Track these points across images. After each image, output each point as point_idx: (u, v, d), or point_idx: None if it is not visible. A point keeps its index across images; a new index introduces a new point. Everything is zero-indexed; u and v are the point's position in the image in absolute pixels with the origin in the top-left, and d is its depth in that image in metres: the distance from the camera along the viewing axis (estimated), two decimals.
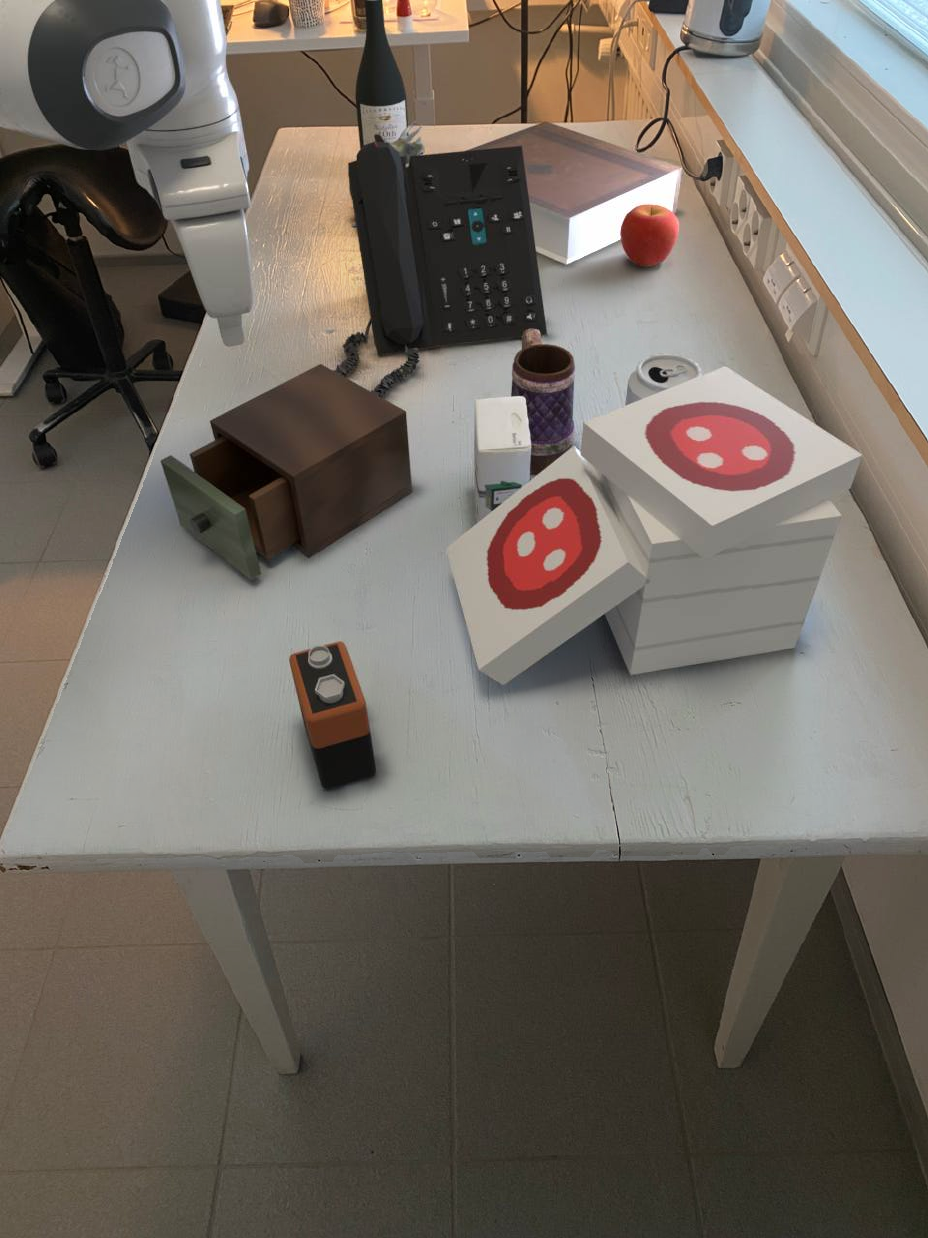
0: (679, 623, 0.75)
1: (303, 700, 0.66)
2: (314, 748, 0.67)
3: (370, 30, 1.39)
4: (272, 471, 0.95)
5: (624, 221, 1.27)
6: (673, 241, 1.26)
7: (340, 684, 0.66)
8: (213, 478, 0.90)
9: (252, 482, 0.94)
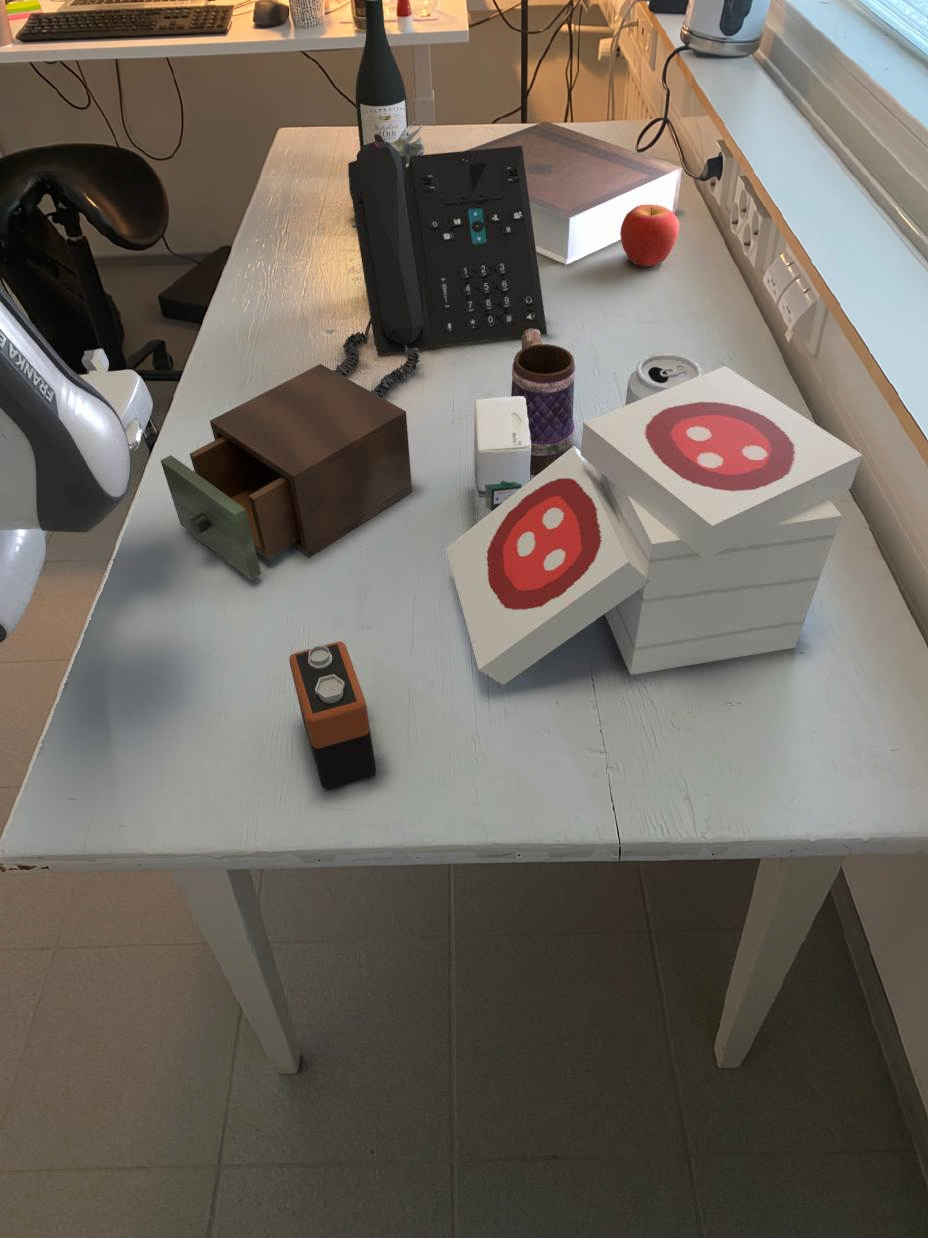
0: (679, 622, 0.75)
1: (303, 700, 0.66)
2: (314, 748, 0.67)
3: (370, 30, 1.39)
4: (272, 471, 0.95)
5: (624, 221, 1.27)
6: (673, 241, 1.26)
7: (340, 684, 0.66)
8: (213, 478, 0.90)
9: (252, 482, 0.94)
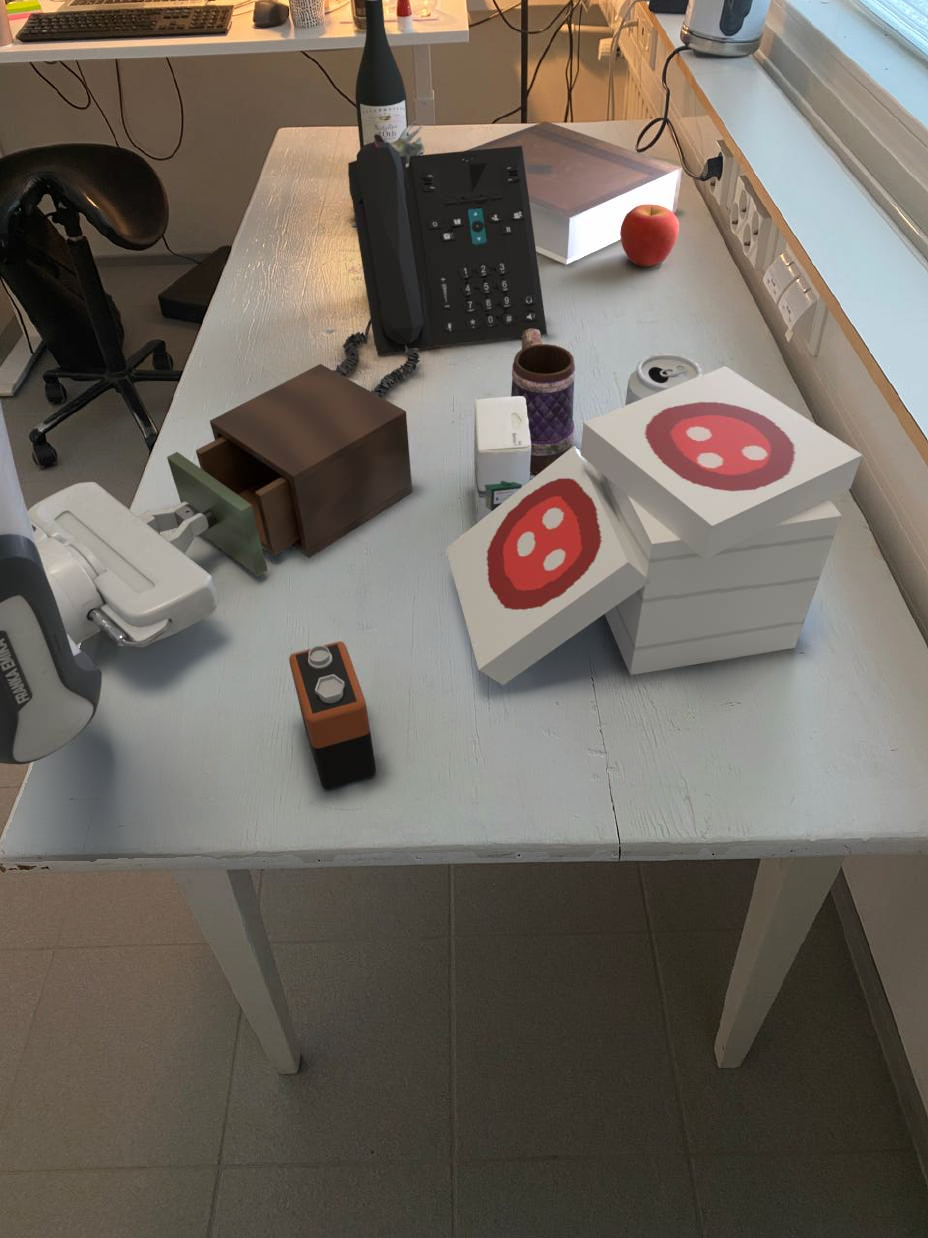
0: (679, 623, 0.75)
1: (303, 700, 0.66)
2: (314, 748, 0.67)
3: (370, 30, 1.39)
4: None
5: (624, 221, 1.27)
6: (673, 241, 1.26)
7: (340, 684, 0.66)
8: (219, 475, 0.90)
9: (258, 479, 0.94)
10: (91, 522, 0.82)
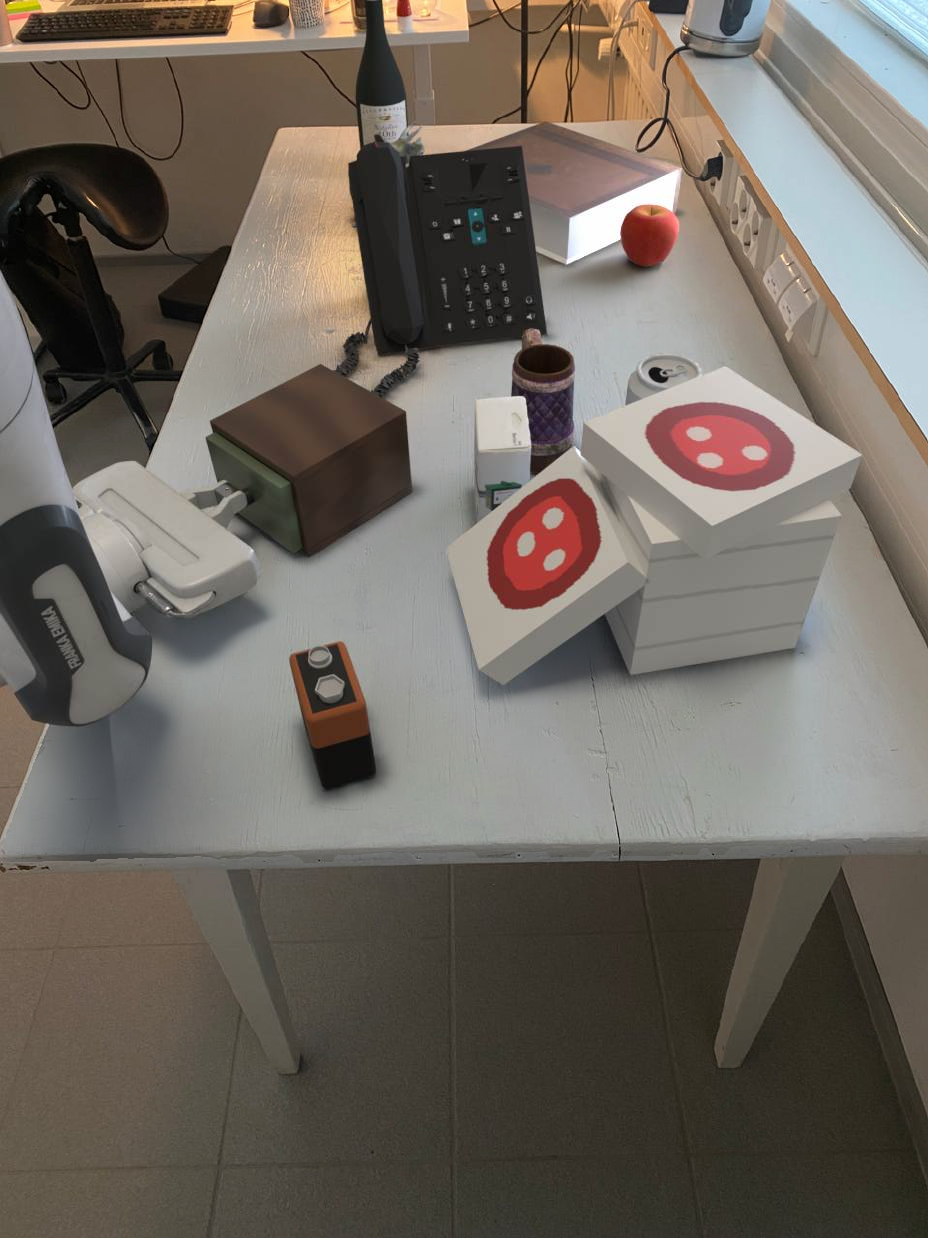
0: (679, 623, 0.75)
1: (303, 700, 0.66)
2: (314, 748, 0.67)
3: (370, 30, 1.39)
4: None
5: (624, 221, 1.27)
6: (673, 241, 1.26)
7: (340, 684, 0.66)
8: None
9: None
10: (134, 499, 0.84)
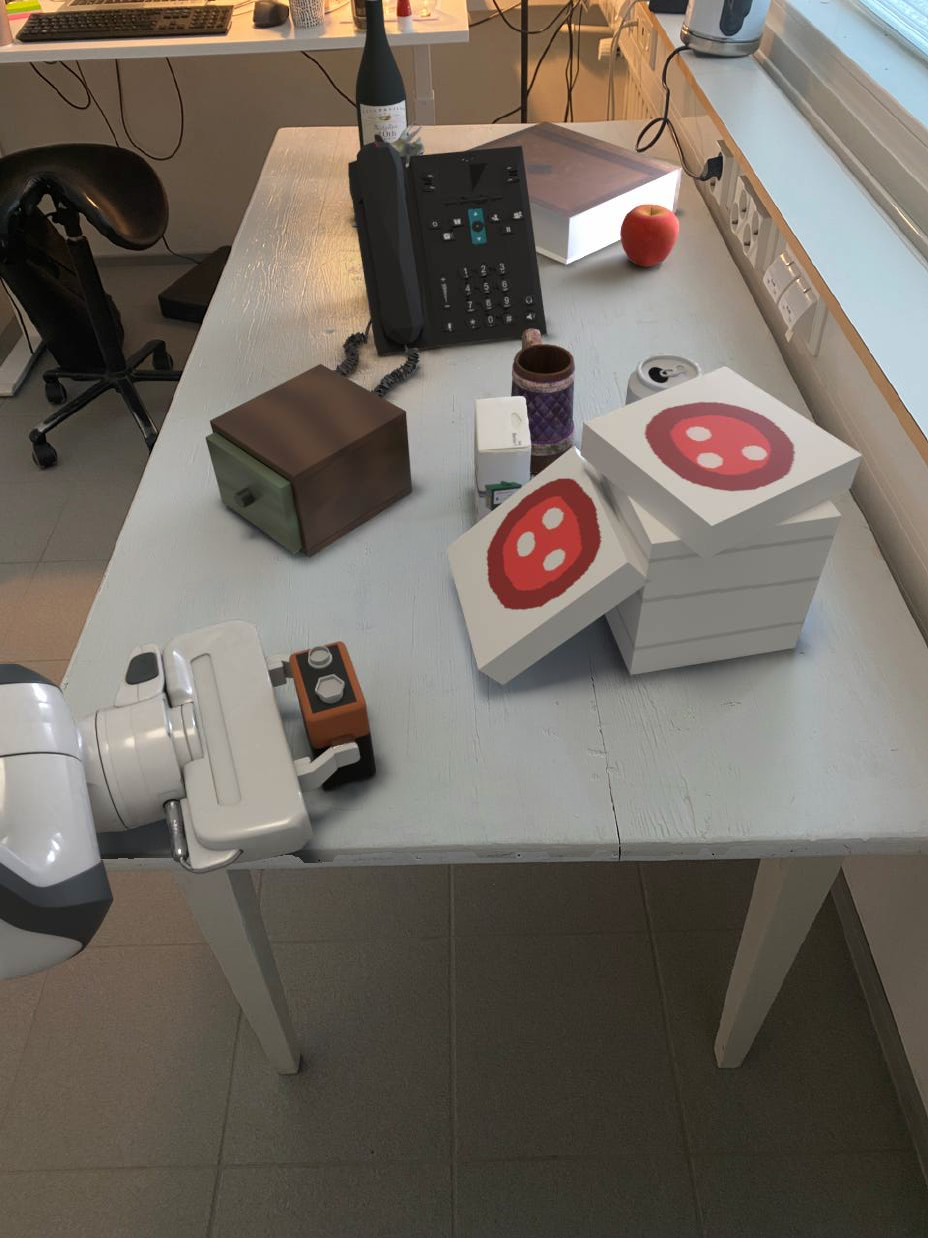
0: (679, 623, 0.75)
1: (303, 700, 0.66)
2: (314, 748, 0.67)
3: (370, 30, 1.39)
4: None
5: (624, 221, 1.27)
6: (673, 241, 1.26)
7: (340, 684, 0.66)
8: None
9: None
10: (223, 681, 0.69)
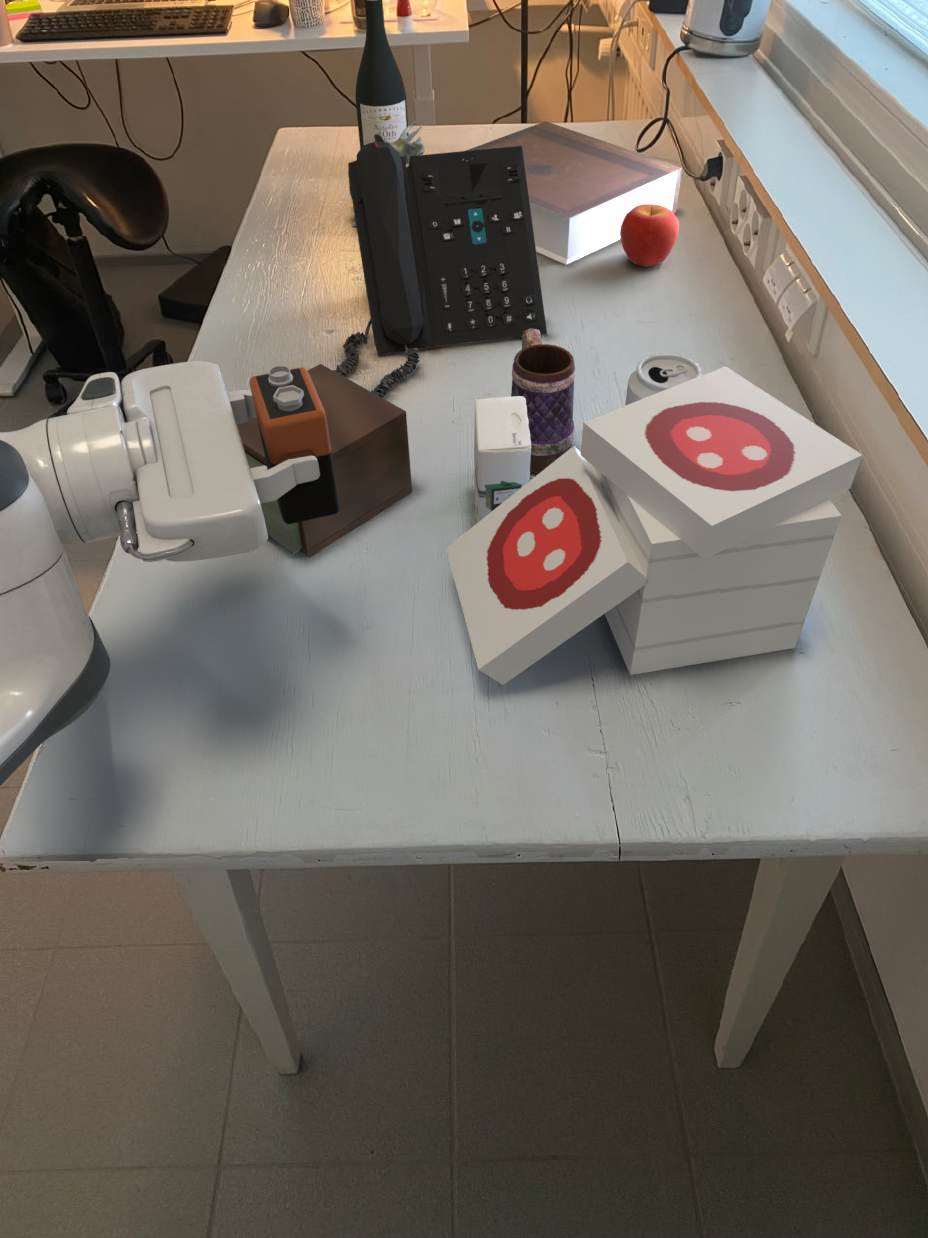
0: (679, 623, 0.75)
1: (261, 409, 0.64)
2: (273, 465, 0.66)
3: (370, 30, 1.39)
4: None
5: (624, 221, 1.27)
6: (673, 241, 1.26)
7: (299, 394, 0.64)
8: None
9: None
10: (182, 405, 0.68)
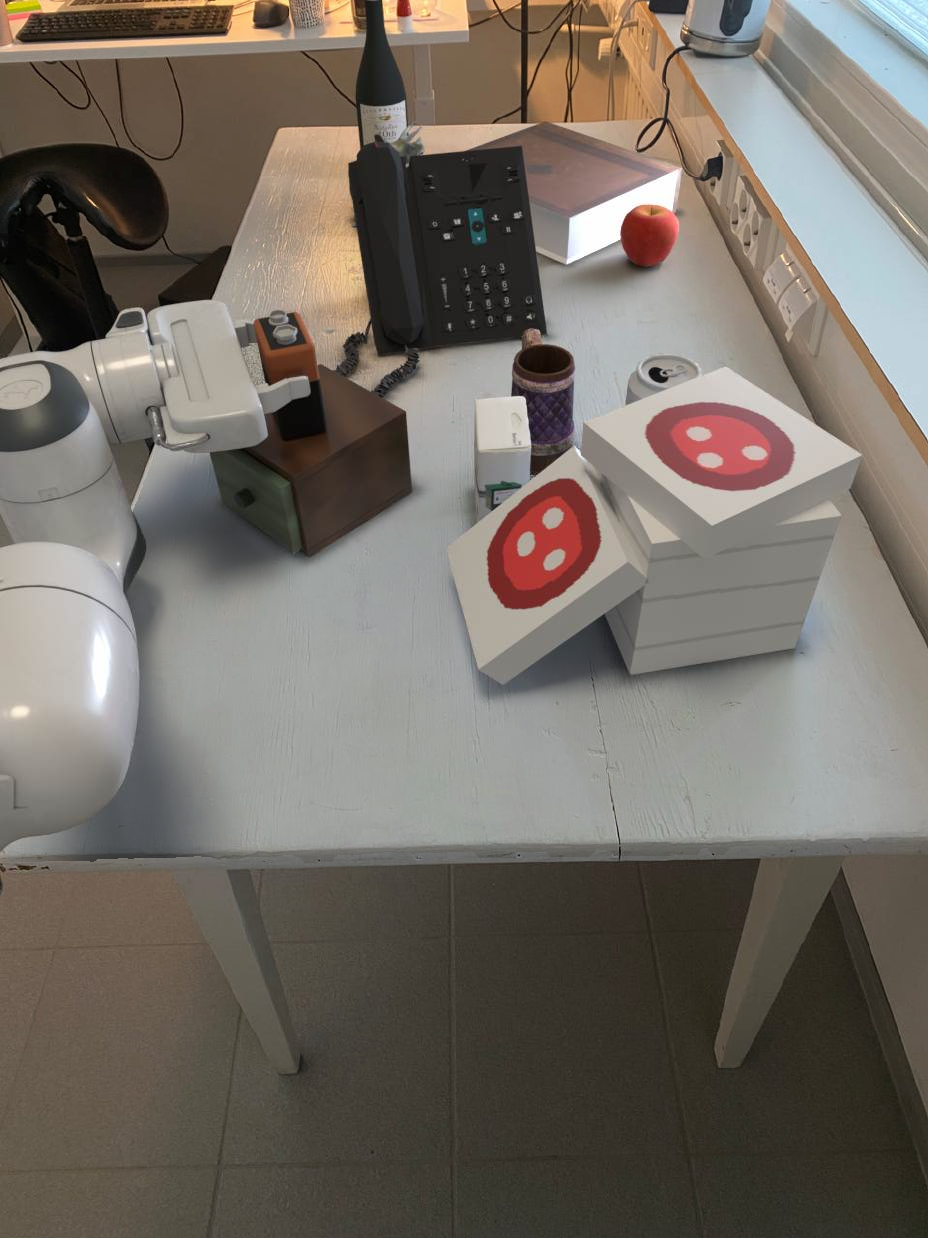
0: (679, 623, 0.75)
1: (263, 344, 0.81)
2: None
3: (370, 30, 1.39)
4: None
5: (624, 221, 1.27)
6: (673, 241, 1.26)
7: (294, 331, 0.81)
8: None
9: None
10: (196, 334, 0.84)
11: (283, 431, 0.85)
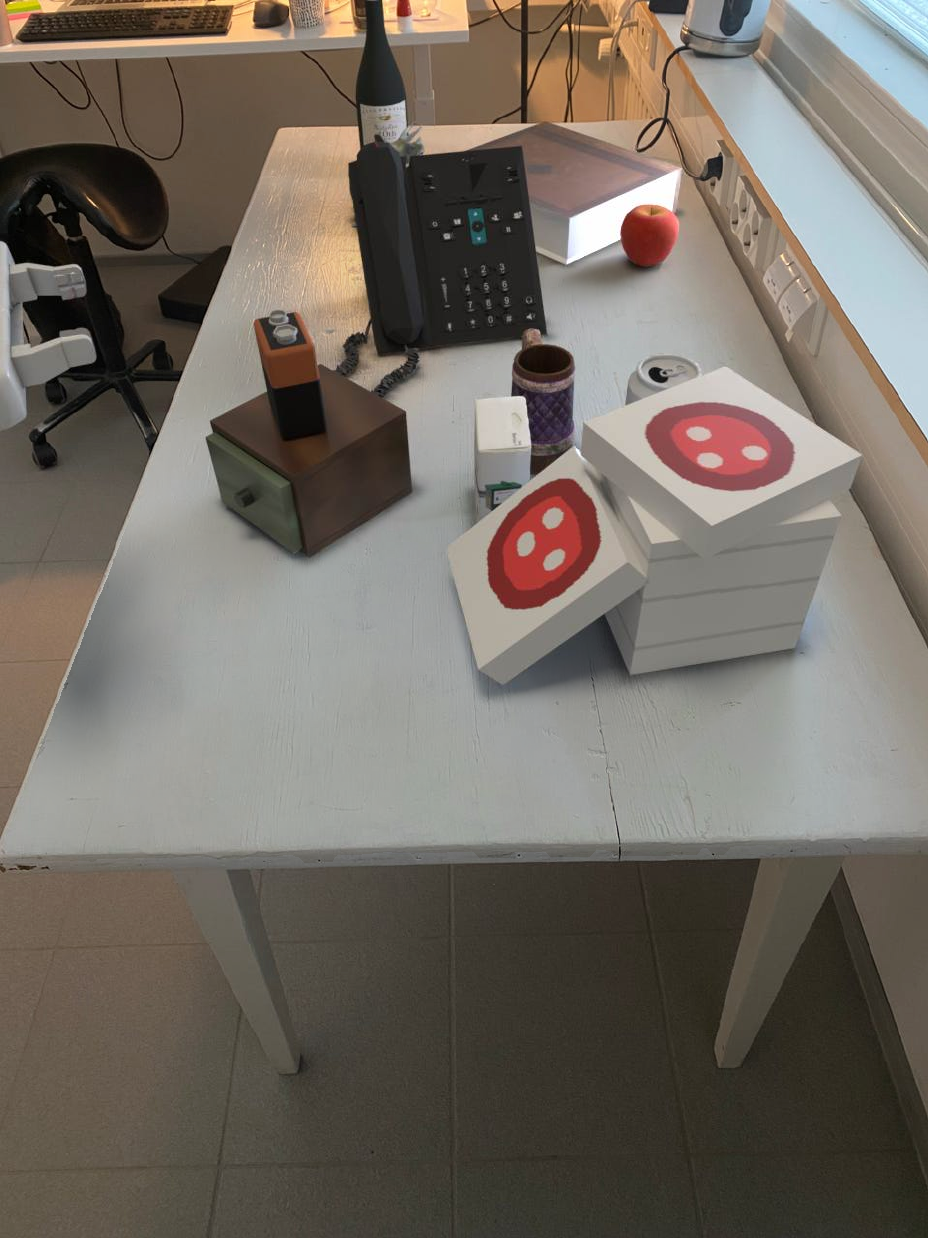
0: (679, 623, 0.75)
1: (263, 343, 0.81)
2: (273, 389, 0.82)
3: (370, 30, 1.39)
4: None
5: (624, 221, 1.27)
6: (673, 241, 1.26)
7: (294, 331, 0.81)
8: None
9: None
10: None
11: (283, 431, 0.85)
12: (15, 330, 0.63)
